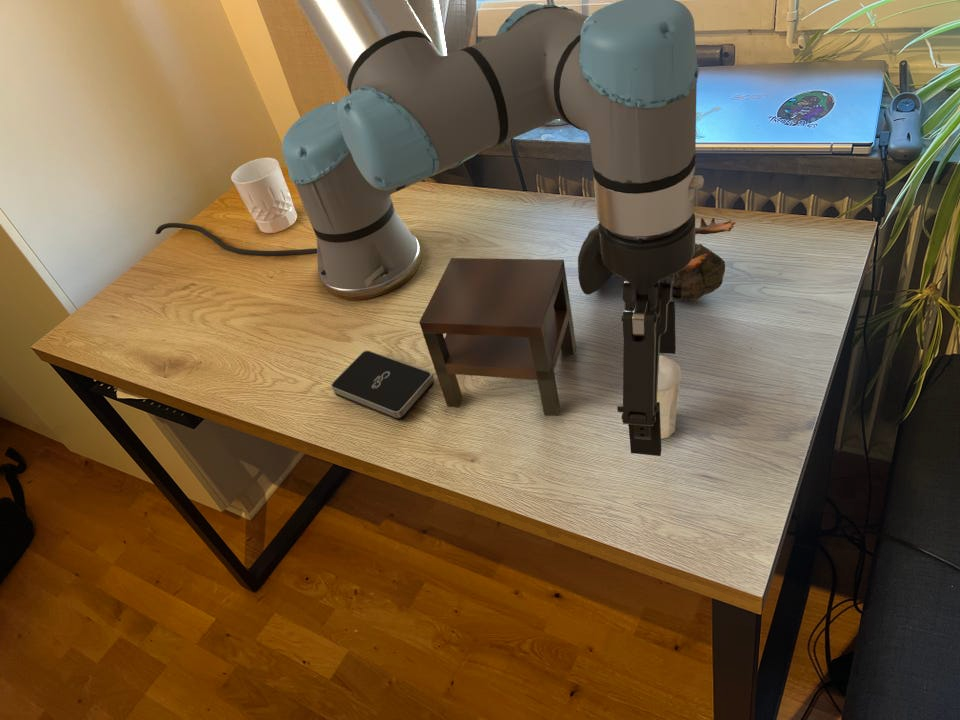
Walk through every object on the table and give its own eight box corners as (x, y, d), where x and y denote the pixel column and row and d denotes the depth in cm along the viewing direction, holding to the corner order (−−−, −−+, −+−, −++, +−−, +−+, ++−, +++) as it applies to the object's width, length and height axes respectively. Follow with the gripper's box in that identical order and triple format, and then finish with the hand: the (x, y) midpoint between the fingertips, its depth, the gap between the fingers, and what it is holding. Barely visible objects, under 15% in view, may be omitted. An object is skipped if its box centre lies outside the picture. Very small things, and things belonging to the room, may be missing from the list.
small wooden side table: (447, 406, 82) (418, 322, 73) (474, 341, 89) (451, 257, 81) (557, 416, 78) (541, 327, 69) (576, 347, 85) (563, 258, 76)
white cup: (295, 231, 118) (272, 178, 111) (251, 239, 119) (225, 186, 112) (304, 206, 124) (282, 153, 117) (262, 213, 125) (238, 162, 118)
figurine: (611, 198, 95) (743, 202, 83) (624, 260, 100) (750, 273, 88) (551, 250, 87) (686, 263, 75) (568, 314, 92) (698, 336, 80)
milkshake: (624, 417, 76) (618, 349, 69) (674, 407, 75) (673, 338, 69) (635, 450, 72) (629, 382, 66) (687, 439, 72) (687, 370, 65)
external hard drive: (370, 360, 91) (365, 349, 89) (438, 385, 85) (434, 373, 84) (334, 397, 87) (328, 386, 86) (403, 425, 81) (398, 414, 80)
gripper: (680, 321, 47) (682, 507, 61) (706, 136, 63) (703, 316, 78) (568, 317, 49) (595, 497, 64) (621, 140, 66) (633, 314, 80)
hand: (654, 398), depth 71 cm, fingers open, 13 cm apart
